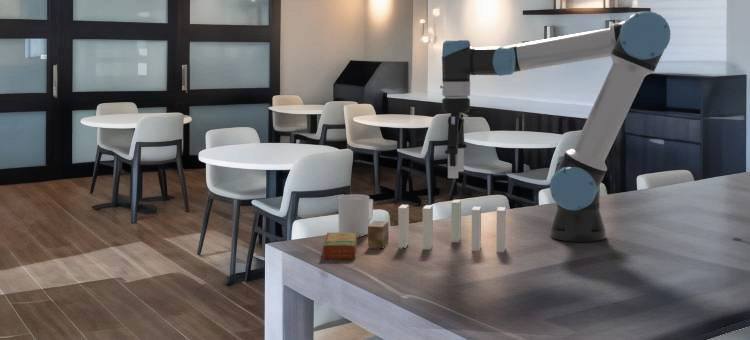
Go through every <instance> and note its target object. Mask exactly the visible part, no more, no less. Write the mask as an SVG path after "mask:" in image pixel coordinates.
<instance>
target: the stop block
mask: <svg viewBox="0 0 750 340" xmlns="http://www.w3.org/2000/svg"><path fill="white" fill-rule="evenodd" d="M389 237H390V236H389V221H387V220H373V221H372V222H371V223H370V225H369V226H368V234H367V248H368V247H369V248H368V249H370V248H383V247H384V246H385V245H386V244H387V243H388V241H389ZM389 242H390V241H389ZM388 244H389V243H388ZM388 244H387V245H388ZM387 245H386V246H387ZM386 246H385V247H386ZM385 247H384V248H385ZM384 248H383V249H384Z"/></svg>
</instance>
